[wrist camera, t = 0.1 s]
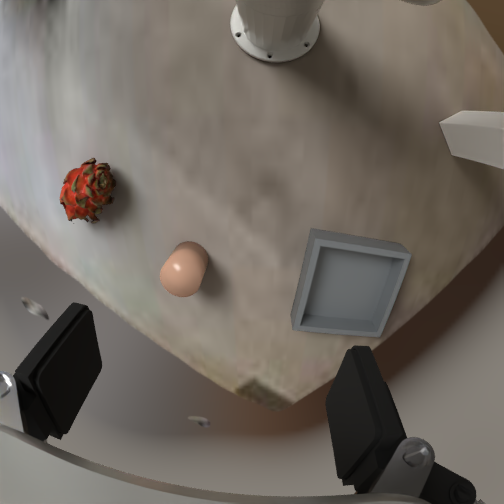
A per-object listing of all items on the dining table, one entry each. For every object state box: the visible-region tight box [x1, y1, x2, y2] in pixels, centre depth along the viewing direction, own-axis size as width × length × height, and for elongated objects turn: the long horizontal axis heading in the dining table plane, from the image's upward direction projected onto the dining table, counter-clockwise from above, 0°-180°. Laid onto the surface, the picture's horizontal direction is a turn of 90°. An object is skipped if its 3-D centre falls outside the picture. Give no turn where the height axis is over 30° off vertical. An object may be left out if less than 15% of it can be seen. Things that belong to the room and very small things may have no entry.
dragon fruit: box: [60, 158, 116, 224], centre depth 42 cm, size 8×8×12 cm
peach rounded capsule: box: [160, 241, 208, 297], centre depth 46 cm, size 6×6×7 cm
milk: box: [439, 111, 504, 169], centre depth 29 cm, size 6×6×22 cm
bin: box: [291, 228, 412, 337], centre depth 48 cm, size 16×16×4 cm
